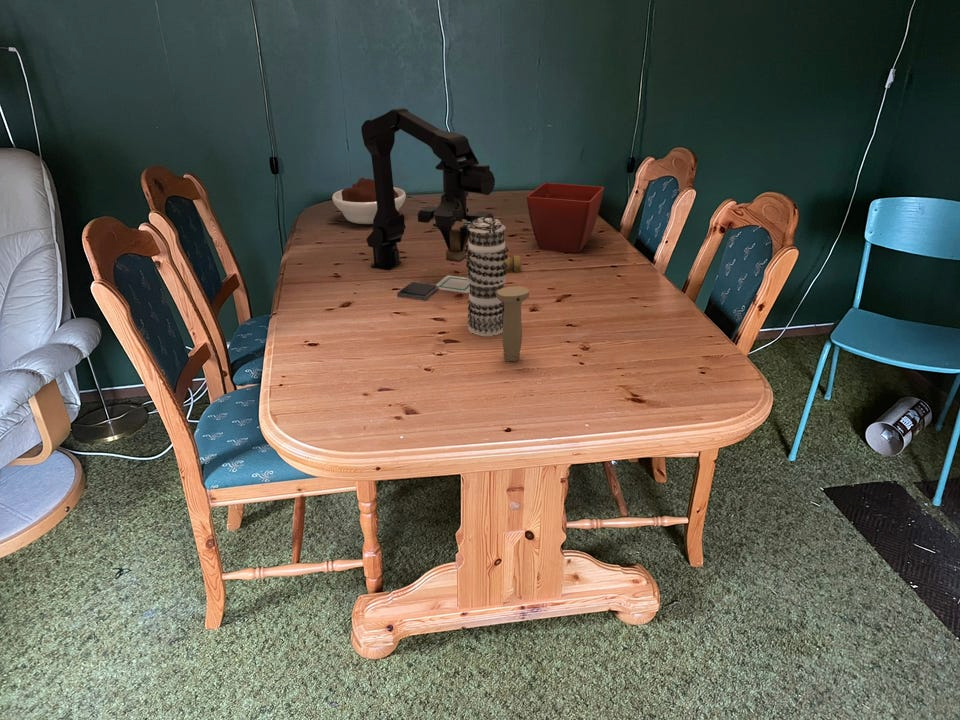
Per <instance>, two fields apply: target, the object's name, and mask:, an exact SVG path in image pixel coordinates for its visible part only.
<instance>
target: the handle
mask: <svg viewBox="0 0 960 720" xmlns="http://www.w3.org/2000/svg"><path fill="white" fill-rule="evenodd" d="M529 297H530V290H529V288H527V287H525V286H522V285H521V286H520V285H519V286H507V287H505V286H504V288H502V289H499V290H497V298H498V299H499V300H500V301H501V302H504V320H503V332H502V333H501V335H502V350H503V353H502V354H503V358H504V359H505V360H506V362H513V363H514V361H515V362H516V361H517V360H519V359H520V357H521V349H522V342H523V340H522V339H523V328H522V303H523V302H524V301H525V300H528V299H529Z"/></svg>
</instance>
